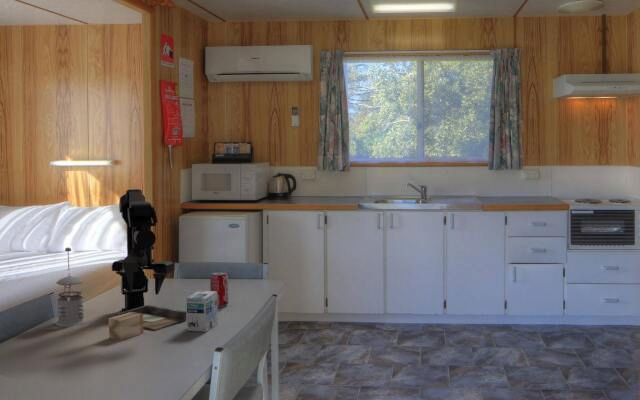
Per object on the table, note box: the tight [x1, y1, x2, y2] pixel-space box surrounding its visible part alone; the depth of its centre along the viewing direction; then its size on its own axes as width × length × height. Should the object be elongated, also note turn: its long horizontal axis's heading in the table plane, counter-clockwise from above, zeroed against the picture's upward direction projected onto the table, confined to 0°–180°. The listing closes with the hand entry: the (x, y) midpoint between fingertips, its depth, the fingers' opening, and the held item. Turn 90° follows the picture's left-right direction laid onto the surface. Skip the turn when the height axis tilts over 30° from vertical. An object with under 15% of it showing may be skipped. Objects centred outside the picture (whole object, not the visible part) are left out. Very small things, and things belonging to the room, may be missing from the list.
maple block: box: [108, 312, 144, 341], centre depth 209 cm, size 5×9×6 cm, turn 147°
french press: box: [55, 247, 87, 328], centre depth 224 cm, size 10×12×25 cm
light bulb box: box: [185, 290, 219, 333], centre depth 217 cm, size 11×7×11 cm, turn 168°
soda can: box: [209, 271, 229, 308], centre depth 245 cm, size 6×6×12 cm
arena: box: [115, 304, 187, 332], centre depth 225 cm, size 18×14×3 cm
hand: (143, 293), depth 212 cm, fingers open, 9 cm apart
